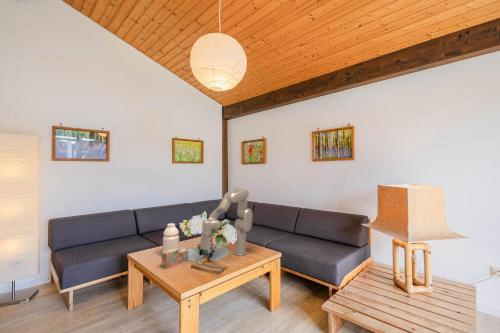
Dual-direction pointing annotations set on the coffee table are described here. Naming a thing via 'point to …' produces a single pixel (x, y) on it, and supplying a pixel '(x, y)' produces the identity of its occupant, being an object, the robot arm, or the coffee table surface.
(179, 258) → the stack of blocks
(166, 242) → the bottle
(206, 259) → the gauge
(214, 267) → the board
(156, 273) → the coffee table surface
